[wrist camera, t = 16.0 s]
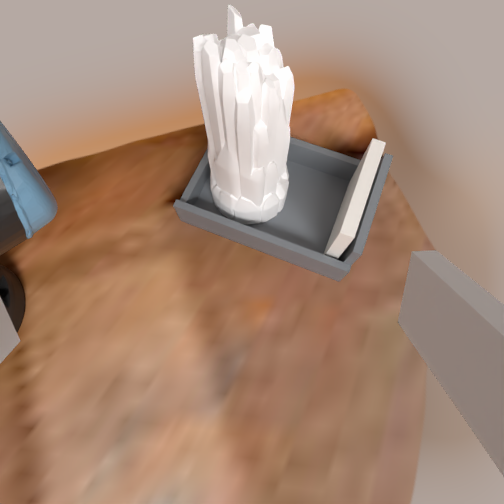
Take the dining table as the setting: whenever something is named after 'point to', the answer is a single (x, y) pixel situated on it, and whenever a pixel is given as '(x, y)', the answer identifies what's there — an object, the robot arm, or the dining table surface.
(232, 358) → the dining table surface
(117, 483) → the dining table surface
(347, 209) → the plate
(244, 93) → the decorative vase
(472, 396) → the robot arm
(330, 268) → the grey tray
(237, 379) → the dining table surface
